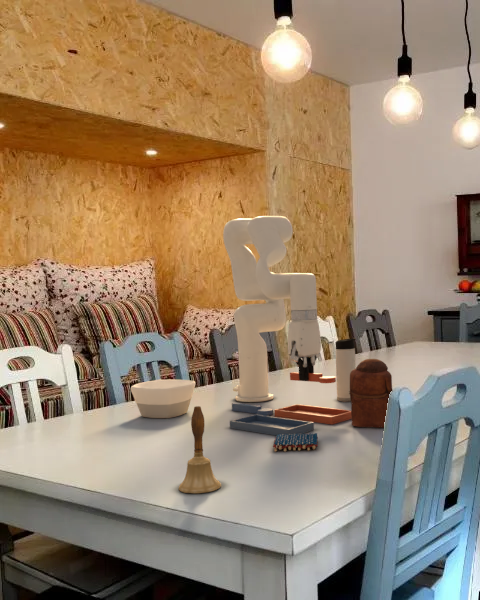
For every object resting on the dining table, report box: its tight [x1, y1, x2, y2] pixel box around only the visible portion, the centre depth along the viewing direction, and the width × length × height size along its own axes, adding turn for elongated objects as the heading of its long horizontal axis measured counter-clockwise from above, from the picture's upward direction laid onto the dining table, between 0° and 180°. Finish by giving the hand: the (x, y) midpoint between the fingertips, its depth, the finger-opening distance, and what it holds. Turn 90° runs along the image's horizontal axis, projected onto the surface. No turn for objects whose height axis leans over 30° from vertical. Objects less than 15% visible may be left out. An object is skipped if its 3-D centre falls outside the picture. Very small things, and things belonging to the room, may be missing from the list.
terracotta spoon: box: [289, 371, 337, 384], centre depth 207 cm, size 16×5×2 cm, turn 50°
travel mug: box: [335, 337, 357, 403], centre depth 232 cm, size 6×7×20 cm
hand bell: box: [178, 405, 222, 494], centre depth 142 cm, size 8×8×16 cm
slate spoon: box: [231, 402, 274, 416], centre depth 217 cm, size 16×5×2 cm, turn 50°
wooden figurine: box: [350, 358, 393, 429], centre depth 192 cm, size 12×6×18 cm, turn 75°
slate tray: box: [229, 413, 315, 437], centre depth 193 cm, size 21×10×2 cm, turn 50°
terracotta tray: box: [273, 403, 352, 425], centre depth 207 cm, size 21×10×2 cm, turn 50°
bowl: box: [130, 379, 196, 419], centre depth 219 cm, size 18×18×9 cm
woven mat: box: [272, 432, 319, 452], centre depth 173 cm, size 10×11×2 cm
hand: (306, 379), depth 208 cm, fingers closed on terracotta spoon, 1 cm apart
